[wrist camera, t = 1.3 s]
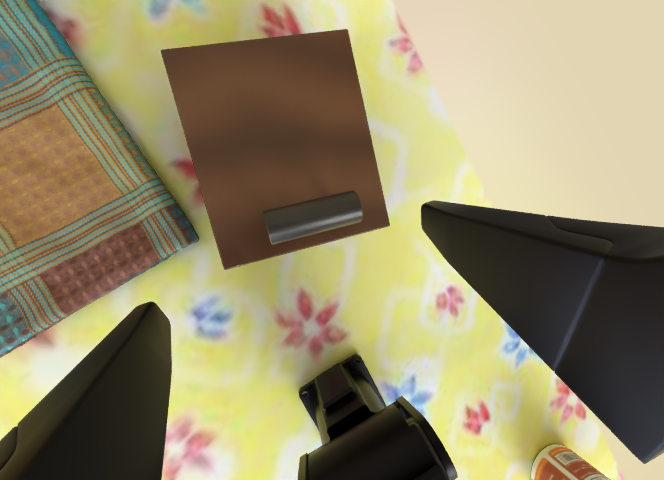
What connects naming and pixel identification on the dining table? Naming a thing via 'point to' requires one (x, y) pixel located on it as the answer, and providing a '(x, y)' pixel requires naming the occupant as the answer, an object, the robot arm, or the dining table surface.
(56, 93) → the dish towel
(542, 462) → the pill bottle
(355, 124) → the lid
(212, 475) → the dining table surface
